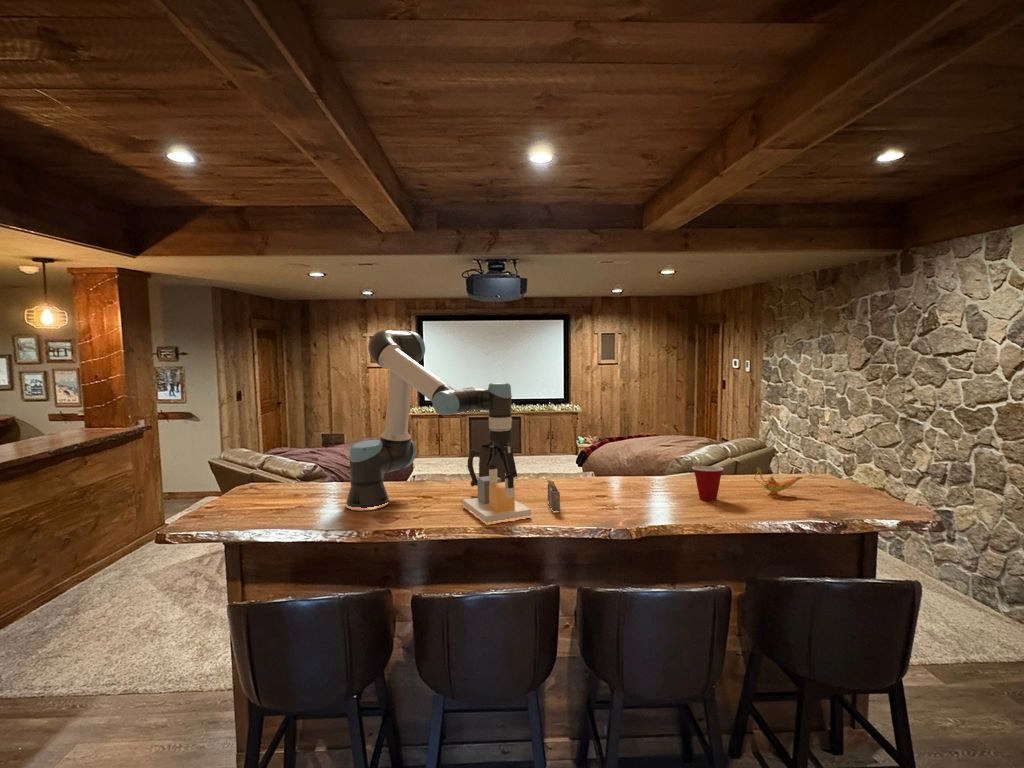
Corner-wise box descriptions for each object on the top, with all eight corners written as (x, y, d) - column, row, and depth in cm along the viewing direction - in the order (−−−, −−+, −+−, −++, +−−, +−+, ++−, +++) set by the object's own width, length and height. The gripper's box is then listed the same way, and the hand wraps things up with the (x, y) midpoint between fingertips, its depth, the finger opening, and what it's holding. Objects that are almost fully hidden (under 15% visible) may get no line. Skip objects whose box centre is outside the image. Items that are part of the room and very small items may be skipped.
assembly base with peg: (463, 508, 183) (462, 477, 183) (504, 501, 190) (503, 472, 190) (486, 525, 163) (485, 491, 163) (531, 518, 170) (530, 485, 170)
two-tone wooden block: (489, 507, 173) (488, 484, 173) (506, 504, 176) (506, 481, 175) (497, 512, 167) (496, 488, 167) (514, 509, 170) (514, 485, 170)
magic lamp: (808, 497, 187) (808, 467, 187) (758, 498, 188) (758, 468, 187) (797, 492, 194) (798, 464, 194) (749, 493, 194) (750, 464, 194)
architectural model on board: (546, 505, 186) (546, 478, 186) (555, 504, 187) (554, 478, 186) (551, 514, 175) (550, 486, 175) (560, 514, 175) (559, 486, 175)
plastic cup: (718, 495, 193) (718, 463, 192) (727, 503, 182) (727, 470, 182) (688, 495, 194) (688, 463, 194) (696, 503, 183) (696, 470, 183)
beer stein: (510, 491, 205) (505, 441, 204) (507, 498, 194) (502, 446, 193) (472, 493, 206) (467, 444, 205) (467, 501, 196) (462, 449, 195)
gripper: (527, 433, 160) (527, 500, 162) (496, 424, 183) (496, 483, 184) (505, 435, 157) (506, 503, 159) (476, 425, 180) (477, 485, 181)
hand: (501, 492), depth 171 cm, fingers open, 13 cm apart
